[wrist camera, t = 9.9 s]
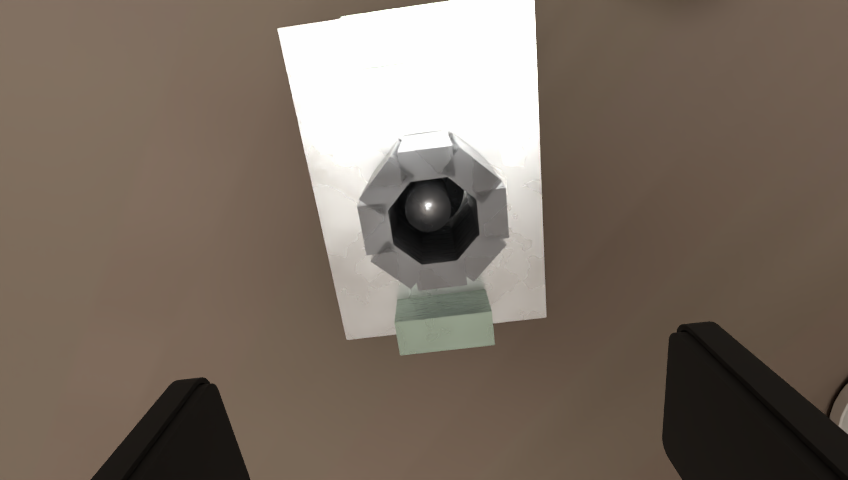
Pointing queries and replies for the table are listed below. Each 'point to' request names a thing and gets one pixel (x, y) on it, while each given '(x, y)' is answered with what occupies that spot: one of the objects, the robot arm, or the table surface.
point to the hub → (456, 241)
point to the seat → (416, 114)
